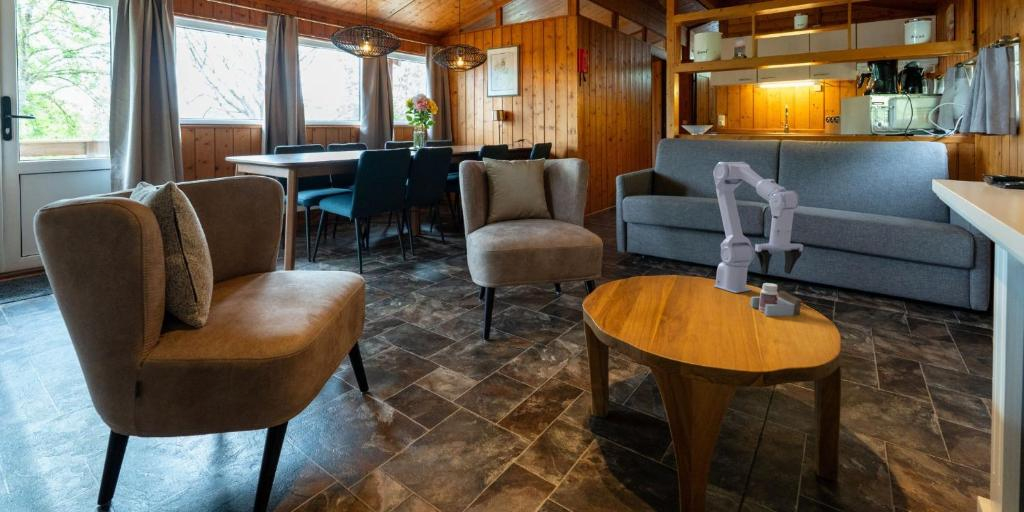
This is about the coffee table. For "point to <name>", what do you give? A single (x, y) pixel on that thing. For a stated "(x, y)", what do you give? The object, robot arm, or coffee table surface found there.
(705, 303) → the coffee table surface
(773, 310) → the cradle
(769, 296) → the pill bottle
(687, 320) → the coffee table surface
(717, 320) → the coffee table surface
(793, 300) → the wall
